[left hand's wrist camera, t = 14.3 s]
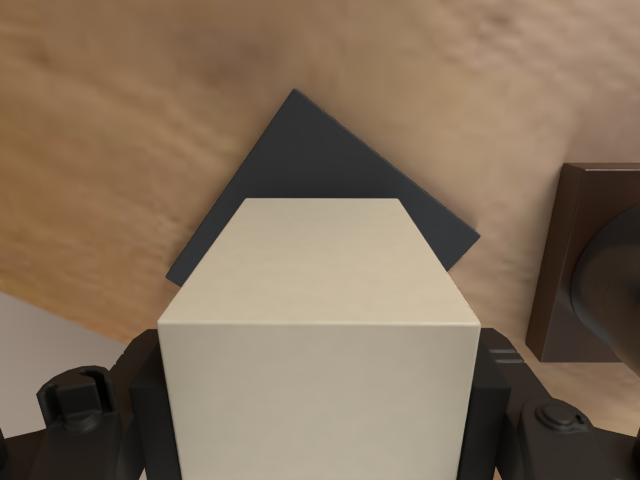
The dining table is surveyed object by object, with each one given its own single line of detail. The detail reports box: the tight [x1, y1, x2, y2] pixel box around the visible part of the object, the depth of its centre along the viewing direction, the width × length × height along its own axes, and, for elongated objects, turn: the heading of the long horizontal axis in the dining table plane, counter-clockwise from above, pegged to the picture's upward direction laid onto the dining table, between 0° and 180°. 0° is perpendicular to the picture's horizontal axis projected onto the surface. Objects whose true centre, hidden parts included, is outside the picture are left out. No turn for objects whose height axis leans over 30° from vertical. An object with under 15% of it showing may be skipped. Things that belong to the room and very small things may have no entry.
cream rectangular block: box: [157, 198, 481, 480], centre depth 13 cm, size 6×6×9 cm
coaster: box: [166, 89, 480, 287], centre depth 18 cm, size 10×10×1 cm
